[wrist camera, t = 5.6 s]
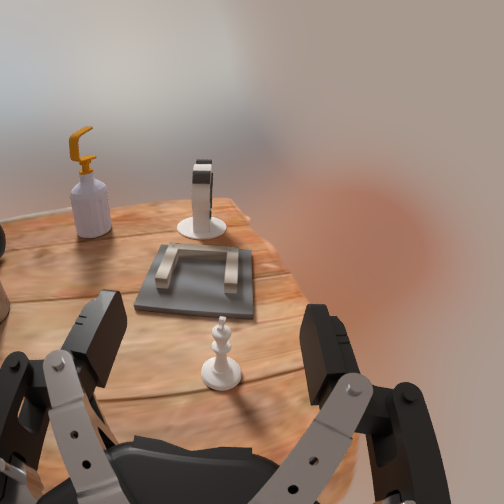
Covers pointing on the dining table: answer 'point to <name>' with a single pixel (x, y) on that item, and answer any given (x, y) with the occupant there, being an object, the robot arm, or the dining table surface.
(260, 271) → the dining table surface
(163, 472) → the robot arm
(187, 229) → the panda figurine
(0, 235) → the bluetooth speaker
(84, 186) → the soap bottle
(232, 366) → the chess piece
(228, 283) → the u rest
